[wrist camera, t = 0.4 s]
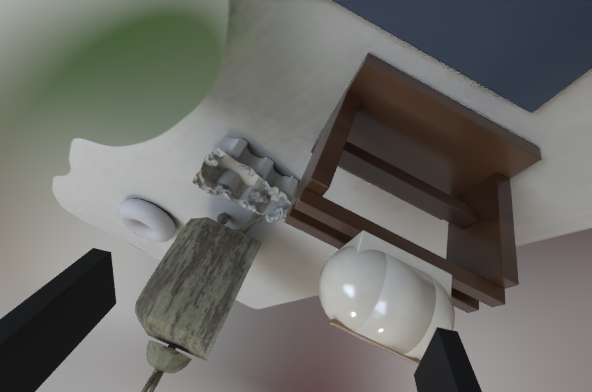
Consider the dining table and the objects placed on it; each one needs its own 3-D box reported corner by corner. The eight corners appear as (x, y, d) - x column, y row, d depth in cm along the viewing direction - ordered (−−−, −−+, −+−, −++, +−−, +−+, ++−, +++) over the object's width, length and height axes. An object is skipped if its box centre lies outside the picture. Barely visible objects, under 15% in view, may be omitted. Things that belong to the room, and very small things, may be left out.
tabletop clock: (257, 250, 53) (174, 427, 38) (207, 227, 52) (104, 397, 38) (276, 209, 41) (167, 443, 26) (212, 179, 40) (65, 399, 26)
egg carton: (205, 155, 37) (186, 180, 35) (234, 124, 31) (214, 152, 29) (274, 208, 41) (261, 234, 38) (311, 189, 35) (299, 218, 33)
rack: (368, 52, 21) (323, 165, 15) (539, 147, 23) (564, 290, 16) (314, 143, 30) (270, 242, 23) (442, 210, 31) (433, 321, 24)
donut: (163, 199, 50) (114, 190, 53) (151, 217, 48) (100, 206, 51) (188, 234, 57) (144, 224, 60) (178, 250, 55) (133, 239, 58)
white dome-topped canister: (353, 216, 17) (329, 303, 15) (476, 278, 18) (476, 373, 15) (319, 248, 22) (294, 320, 19) (420, 298, 22) (412, 375, 19)
